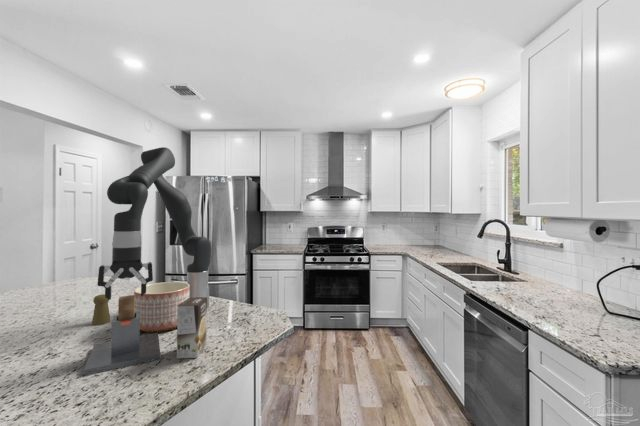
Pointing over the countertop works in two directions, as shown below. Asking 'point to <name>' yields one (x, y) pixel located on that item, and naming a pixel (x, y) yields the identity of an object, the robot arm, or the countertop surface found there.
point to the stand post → (126, 307)
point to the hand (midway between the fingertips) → (126, 297)
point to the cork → (101, 310)
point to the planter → (160, 305)
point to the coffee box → (191, 327)
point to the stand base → (123, 347)
